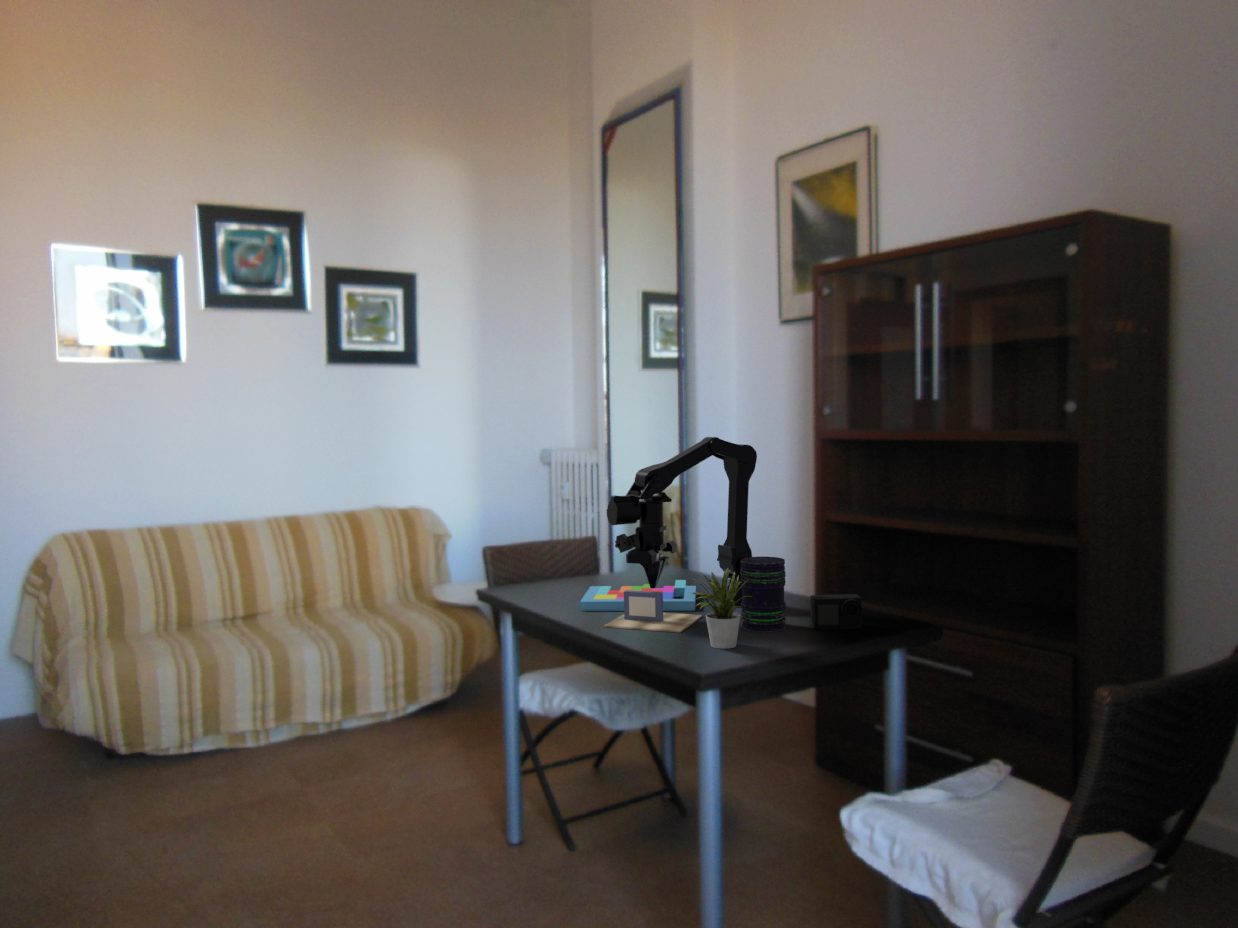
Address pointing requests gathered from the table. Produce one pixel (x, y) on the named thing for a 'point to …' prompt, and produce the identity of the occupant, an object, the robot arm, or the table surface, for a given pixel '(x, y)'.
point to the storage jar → (763, 594)
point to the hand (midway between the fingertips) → (653, 587)
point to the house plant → (721, 611)
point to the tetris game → (614, 599)
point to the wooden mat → (657, 623)
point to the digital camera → (836, 611)
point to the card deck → (643, 605)
